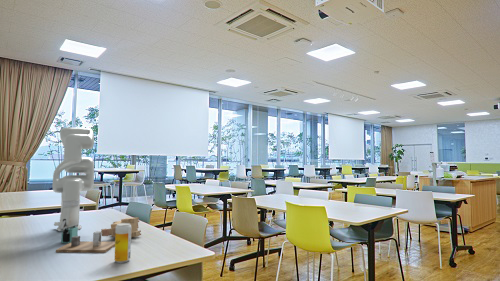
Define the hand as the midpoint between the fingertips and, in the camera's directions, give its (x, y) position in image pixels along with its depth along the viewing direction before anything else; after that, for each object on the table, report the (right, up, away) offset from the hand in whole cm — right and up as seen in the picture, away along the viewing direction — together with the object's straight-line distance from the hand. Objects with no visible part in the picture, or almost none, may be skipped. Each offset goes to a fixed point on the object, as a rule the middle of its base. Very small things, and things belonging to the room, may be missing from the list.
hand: (69, 239), depth 158 cm
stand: (+15, 0, -11) cm, 19 cm away
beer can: (+38, 0, -28) cm, 48 cm away
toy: (+22, -2, +10) cm, 24 cm away
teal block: (0, -1, 0) cm, 1 cm away
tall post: (+19, +1, -11) cm, 22 cm away
